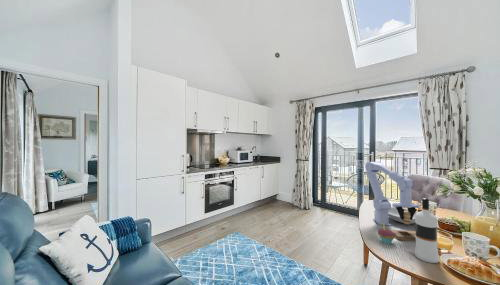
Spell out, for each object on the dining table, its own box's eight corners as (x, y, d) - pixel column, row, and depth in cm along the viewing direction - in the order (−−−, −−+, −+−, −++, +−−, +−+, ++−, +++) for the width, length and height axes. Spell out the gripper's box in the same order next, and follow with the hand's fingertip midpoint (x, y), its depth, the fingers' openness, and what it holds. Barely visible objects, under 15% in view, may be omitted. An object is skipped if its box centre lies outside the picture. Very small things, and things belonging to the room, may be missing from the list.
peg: (400, 221, 125) (399, 210, 125) (408, 221, 124) (407, 211, 124) (404, 224, 120) (404, 213, 121) (412, 224, 120) (412, 213, 120)
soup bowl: (408, 215, 152) (408, 207, 152) (434, 229, 128) (434, 219, 128) (376, 214, 155) (376, 206, 155) (396, 228, 131) (396, 218, 131)
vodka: (413, 258, 97) (412, 198, 97) (414, 251, 103) (413, 194, 103) (439, 266, 90) (438, 202, 90) (439, 257, 97) (438, 198, 97)
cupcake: (387, 246, 108) (387, 225, 108) (374, 239, 116) (373, 219, 116) (399, 244, 110) (398, 223, 110) (385, 237, 119) (384, 217, 119)
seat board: (390, 232, 124) (390, 229, 124) (421, 234, 121) (421, 231, 121) (398, 239, 115) (398, 236, 115) (433, 242, 112) (432, 238, 112)
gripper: (396, 198, 119) (397, 220, 119) (423, 199, 117) (423, 222, 117) (390, 195, 126) (390, 216, 126) (415, 196, 124) (415, 217, 124)
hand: (406, 218), depth 122 cm, fingers closed on peg, 4 cm apart
